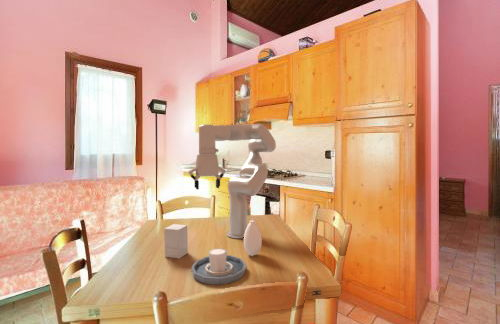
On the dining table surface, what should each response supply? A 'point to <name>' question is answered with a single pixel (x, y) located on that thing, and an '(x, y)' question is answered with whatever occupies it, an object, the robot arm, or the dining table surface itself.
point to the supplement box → (176, 241)
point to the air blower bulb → (252, 238)
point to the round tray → (231, 273)
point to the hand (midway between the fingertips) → (207, 188)
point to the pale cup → (217, 259)
